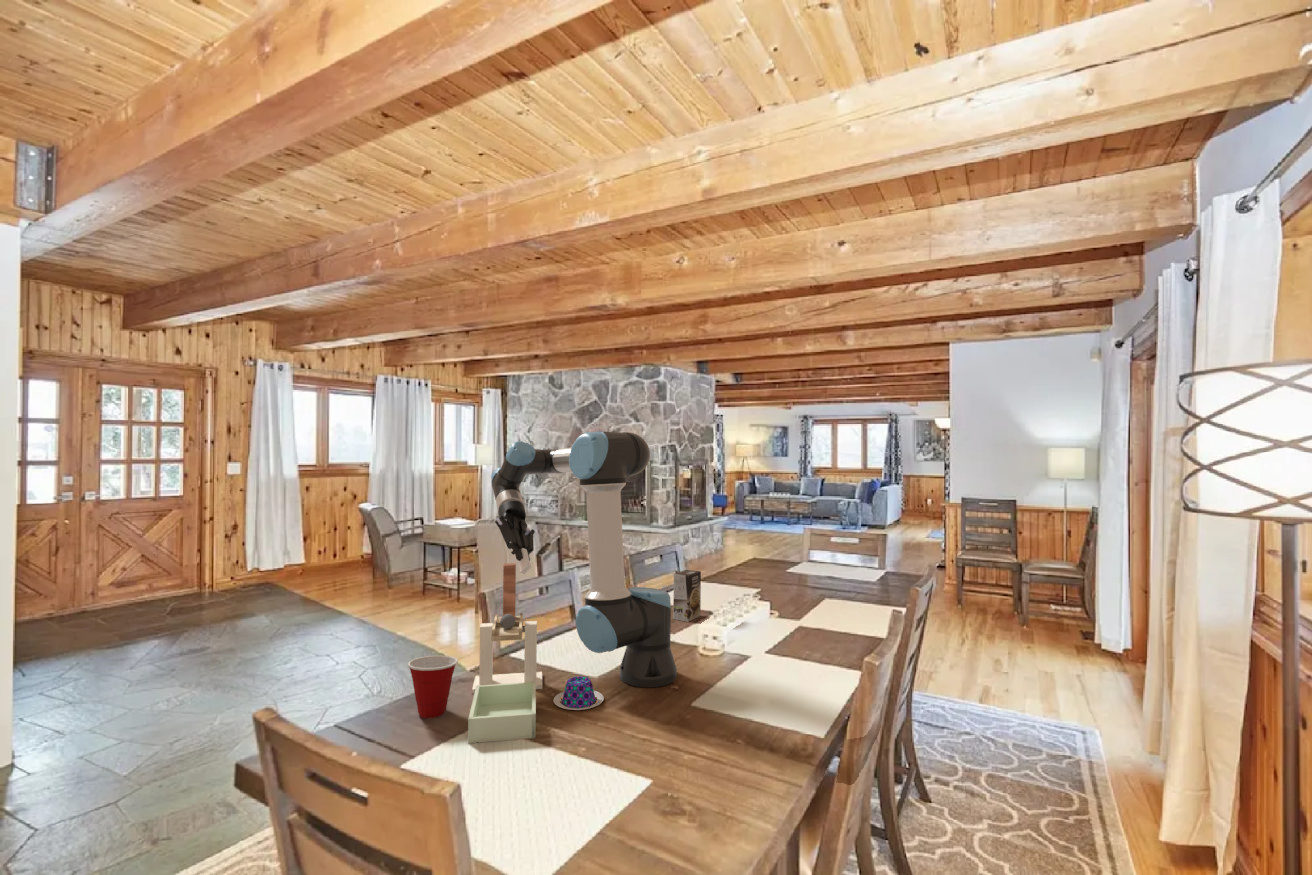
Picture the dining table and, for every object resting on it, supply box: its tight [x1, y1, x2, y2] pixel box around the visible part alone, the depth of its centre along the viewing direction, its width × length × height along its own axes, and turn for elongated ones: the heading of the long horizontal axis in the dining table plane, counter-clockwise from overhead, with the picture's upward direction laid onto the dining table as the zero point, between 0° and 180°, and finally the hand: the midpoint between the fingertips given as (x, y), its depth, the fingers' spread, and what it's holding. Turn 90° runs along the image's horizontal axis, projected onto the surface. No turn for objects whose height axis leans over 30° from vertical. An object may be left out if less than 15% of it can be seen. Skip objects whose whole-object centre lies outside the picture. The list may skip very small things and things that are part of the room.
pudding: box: [553, 675, 605, 711], centre depth 149 cm, size 12×12×5 cm
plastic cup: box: [407, 655, 459, 719], centre depth 142 cm, size 11×11×12 cm
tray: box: [467, 682, 537, 744], centre depth 137 cm, size 18×14×5 cm
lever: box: [491, 562, 524, 642], centre depth 154 cm, size 16×7×15 cm, turn 11°
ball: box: [500, 614, 515, 629], centre depth 151 cm, size 4×4×4 cm
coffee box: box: [672, 569, 702, 623], centre depth 219 cm, size 9×6×16 cm
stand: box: [471, 620, 543, 694], centre depth 159 cm, size 9×17×16 cm, turn 101°
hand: (525, 569), depth 165 cm, fingers closed
